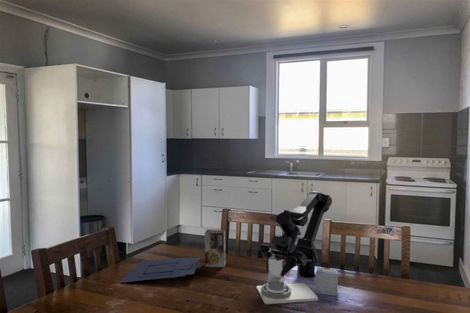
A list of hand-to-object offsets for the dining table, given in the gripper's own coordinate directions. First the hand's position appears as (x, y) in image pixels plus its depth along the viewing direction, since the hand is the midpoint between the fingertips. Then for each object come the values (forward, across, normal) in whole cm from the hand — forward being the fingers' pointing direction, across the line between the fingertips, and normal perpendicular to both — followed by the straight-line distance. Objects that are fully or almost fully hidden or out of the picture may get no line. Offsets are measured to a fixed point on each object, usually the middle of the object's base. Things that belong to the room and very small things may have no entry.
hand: (274, 273), depth 136 cm
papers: (+13, -50, -1) cm, 52 cm away
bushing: (+4, 0, +6) cm, 7 cm away
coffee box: (-2, -39, +15) cm, 42 cm away
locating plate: (+3, +3, +9) cm, 10 cm away
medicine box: (-4, +14, +17) cm, 23 cm away
